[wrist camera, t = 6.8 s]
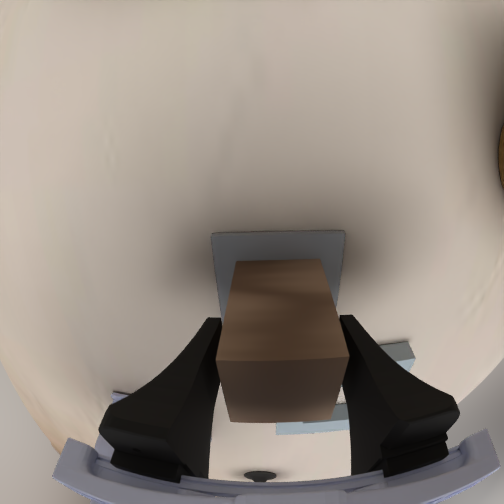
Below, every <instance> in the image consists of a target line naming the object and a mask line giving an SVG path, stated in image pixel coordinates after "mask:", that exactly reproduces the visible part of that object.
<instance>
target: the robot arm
mask: <svg viewBox="0 0 504 504" xmlns="http://www.w3.org/2000/svg"><path fill="white" fill-rule="evenodd" d="M339 321H340V324H341V328H342V331H343V335H344V338H345V342H346V345H347V349H348V353H349V360H348V364H347V367H346V371H345V375H344V378H343V382H342V387H343V391H344V395H345V399H346V404H347V409H348V418H349V428H350V441H351V476H346V477H339V478H331V479H323V480H312V481H298V482H239V481H225V480H215V479H208V473H209V455H210V442H211V440H212V438H211V431H212V422H213V413H214V407H215V402H216V398H217V394H218V389H219V385H220V377H219V373H218V369H217V364H216V356H217V351H218V346H219V341H220V336H221V331H222V321H221V318H210V317H208V318H207V319H206V321H205V322H204V324H203V325H202V326H201V328H200V329H199V331H198V332H197V333H196V335H195V336H194V337H193V339H192V340H191V341H190V342H189V344H188V345H187V346H186V347H185V349H184V350H183V351H182V352H181V353H180V354H179V355H178V356H177V358H176V359H175V360H174V361H173V362H172V363H171V364H170V365H169V366H168V367H167V368H166V369H165V370H163V371H162V372H161V373H160V374H159V375H158V376H156V377H155V378H154V379H153V380H151V381H150V382H149V383H147V384H146V385H145V386H143V387H142V388H140V389H139V390H137V391H135V392H134V393H132V394H131V395H124V394H119V393H114V392H113V393H112V394H111V397H112V398H113V403H112V404H111V405H109V407H108V409H107V410H106V412H105V415H104V417H103V419H102V422H101V424H100V427H99V429H98V430H99V433H100V434H99V436H98V438H97V441H96V445H95V449H94V448H92V447H91V446H89V445H87V444H85V443H82V442H80V441H77V440H74V439H72V438H68V439H67V442H66V444H65V446H64V448H63V451H62V453H61V455H60V458H59V460H58V463H57V465H56V468H55V470H54V473H53V475H52V477H53V479H55V480H57V481H58V482H60V483H61V484H63V485H64V486H66V487H68V488H69V489H71V490H73V491H75V492H76V493H78V494H81V495H82V496H84V497H87V498H89V499H91V501H90V504H437V503H439V502H441V501H444V500H446V499H448V498H450V497H452V496H455V495H456V494H459V493H461V492H462V491H465V490H467V489H468V488H471V487H472V486H474V485H475V484H477V483H479V482H480V481H482V480H483V479H485V478H486V477H488V476H489V475H491V474H492V473H494V472H495V471H496V470H498V469H499V468H500V467H501V466H500V463H499V460H498V457H497V454H496V451H495V448H494V446H493V443H492V440H491V438H490V435H489V433H488V430H487V429H486V428H485V429H483V430H481V431H478V432H477V433H474V434H472V435H470V436H468V437H467V438H465V439H464V440H463V441H462V442H461V443H460V444H459V445H458V446H455V447H453V448H450V449H447V445H446V443H445V441H446V440H447V439H448V437H447V434H446V432H447V431H448V430H449V429H450V428H451V426H452V425H453V424H454V423H455V422H456V421H457V419H458V418H459V415H460V411H459V409H458V406H457V404H456V402H455V400H454V398H453V396H451V395H449V394H447V393H445V392H442V391H440V390H438V389H436V388H434V387H432V386H430V385H428V384H427V383H425V382H423V381H421V380H420V379H418V378H417V377H415V376H414V375H412V374H411V373H409V372H408V371H407V370H405V369H404V368H403V367H402V366H400V365H399V364H398V363H397V362H395V361H394V360H393V359H392V358H391V357H390V356H389V355H388V354H387V353H386V352H385V351H384V350H383V349H382V348H381V347H380V346H379V345H378V344H377V343H376V342H375V341H374V340H373V338H372V337H371V336H370V335H369V334H368V333H367V332H366V330H365V329H364V328H363V327H362V326H361V324H360V323H359V322H358V321H357V320H356V318H355V317H354V316H353V315H340V317H339ZM350 492H351V493H350ZM215 496H217V497H215Z"/></svg>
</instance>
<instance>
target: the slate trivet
mask: <svg viewBox="0 0 504 504" xmlns="http://www.w3.org/2000/svg"><path fill="white" fill-rule="evenodd" d="M211 241H212V250H213V258H214V266H215V274H216V281H217V289H218V296H219V303H220V310H221V317H222V324H223V321H224V317H225V312H226V307H227V302H228V297H229V293H230V288H231V283H232V278H233V274H234V269H235V264H236V261H256V260H293V259H320V260H321V263H322V266H323V269H324V272H325V275H326V278H327V282H328V285H329V288H330V291H331V294H332V297H333V301H334V304H335V307H336V306H337V299H338V292H339V285H340V277H341V269H342V261H343V252H344V242H345V232H344V231H276V232H234V233H212V235H211Z"/></svg>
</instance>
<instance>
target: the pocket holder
mask: <svg viewBox="0 0 504 504" xmlns="http://www.w3.org/2000/svg"><path fill="white" fill-rule="evenodd" d="M379 346H380V347H381V348H382V349H383V350H384V351H385V352H386V353H387V354H388V355H389V356H390V357H391V358H392V359H393V360H394V361H395V362H397V363H398V364H399V365H400V366H402V367H403V368H404V369H405V370H407V371H408V372H409V371H410V369H411V367H412V365H413V363H414V361H415V359H416V358H415V356H414V353H413V351H412V349H411V347H410V345H409V343H408V342H402V343H395V344H387V345H379ZM341 387H342V385H341ZM348 429H350V428H349V418H348V409H347V404H337V405H335V408H334V411H333V414H332V417H331V419H330V420H319V421H306V422H285V423H276V435H288V434H308V433H321V432H331V431H340V430H348Z"/></svg>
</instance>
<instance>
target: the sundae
mask: <svg viewBox="0 0 504 504" xmlns="http://www.w3.org/2000/svg"><path fill="white" fill-rule="evenodd" d="M244 476H245V477H246V478H248V479H252V480H253V481H254V482H266V481H267V480H270V479H273V478H275V477H276V475H275V474H274V473H270V472H259V471H257V472H248V473H246V474H244Z"/></svg>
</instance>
